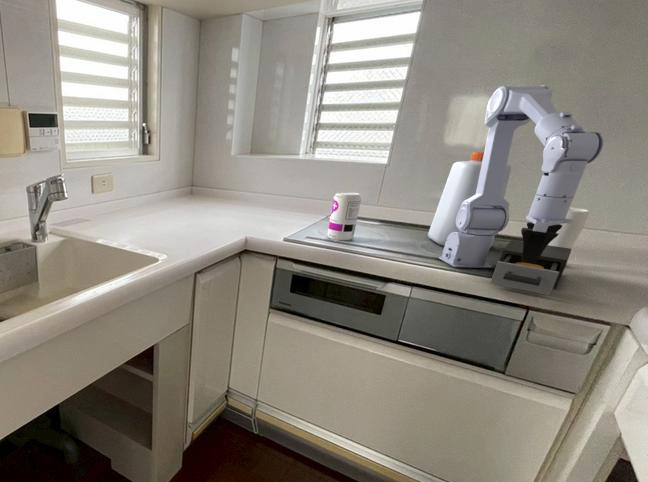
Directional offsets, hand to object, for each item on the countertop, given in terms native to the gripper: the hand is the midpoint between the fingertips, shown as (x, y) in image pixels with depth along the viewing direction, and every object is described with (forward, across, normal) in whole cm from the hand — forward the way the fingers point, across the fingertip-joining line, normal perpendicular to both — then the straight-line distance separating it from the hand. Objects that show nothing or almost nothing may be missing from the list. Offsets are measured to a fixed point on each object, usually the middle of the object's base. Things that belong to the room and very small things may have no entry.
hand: (530, 259), depth 88 cm
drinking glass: (+9, +36, -3) cm, 37 cm away
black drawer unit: (+8, +18, 0) cm, 20 cm away
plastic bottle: (+8, +43, +20) cm, 48 cm away
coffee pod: (+6, +7, 0) cm, 9 cm away
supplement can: (+8, +23, +49) cm, 55 cm away
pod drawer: (+8, +6, 0) cm, 10 cm away
